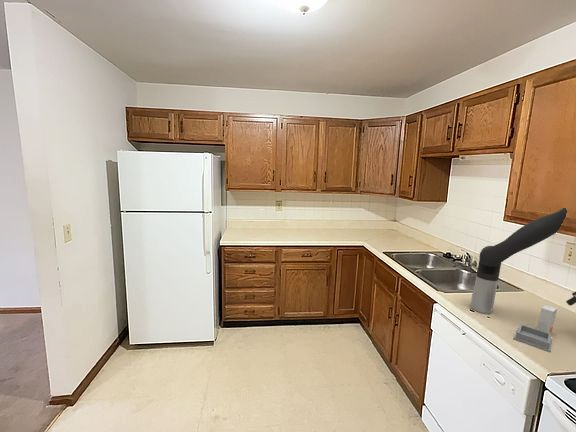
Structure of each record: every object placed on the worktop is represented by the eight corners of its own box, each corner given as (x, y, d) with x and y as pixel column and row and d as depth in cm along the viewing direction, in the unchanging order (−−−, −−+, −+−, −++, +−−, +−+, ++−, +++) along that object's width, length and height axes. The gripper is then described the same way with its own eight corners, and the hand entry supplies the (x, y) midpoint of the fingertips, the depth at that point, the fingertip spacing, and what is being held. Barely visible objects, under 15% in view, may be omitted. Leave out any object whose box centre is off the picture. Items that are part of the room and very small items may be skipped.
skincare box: (548, 337, 131) (553, 311, 129) (535, 332, 134) (541, 307, 132) (552, 333, 135) (557, 308, 133) (540, 328, 138) (545, 304, 136)
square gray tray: (513, 339, 128) (514, 332, 127) (517, 329, 136) (518, 322, 136) (550, 352, 120) (552, 344, 119) (552, 340, 128) (553, 333, 128)
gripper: (592, 273, 131) (557, 295, 134) (618, 280, 117) (579, 304, 121) (605, 287, 130) (569, 308, 133) (633, 296, 116) (593, 319, 120)
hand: (574, 306), depth 127 cm, fingers open, 8 cm apart
